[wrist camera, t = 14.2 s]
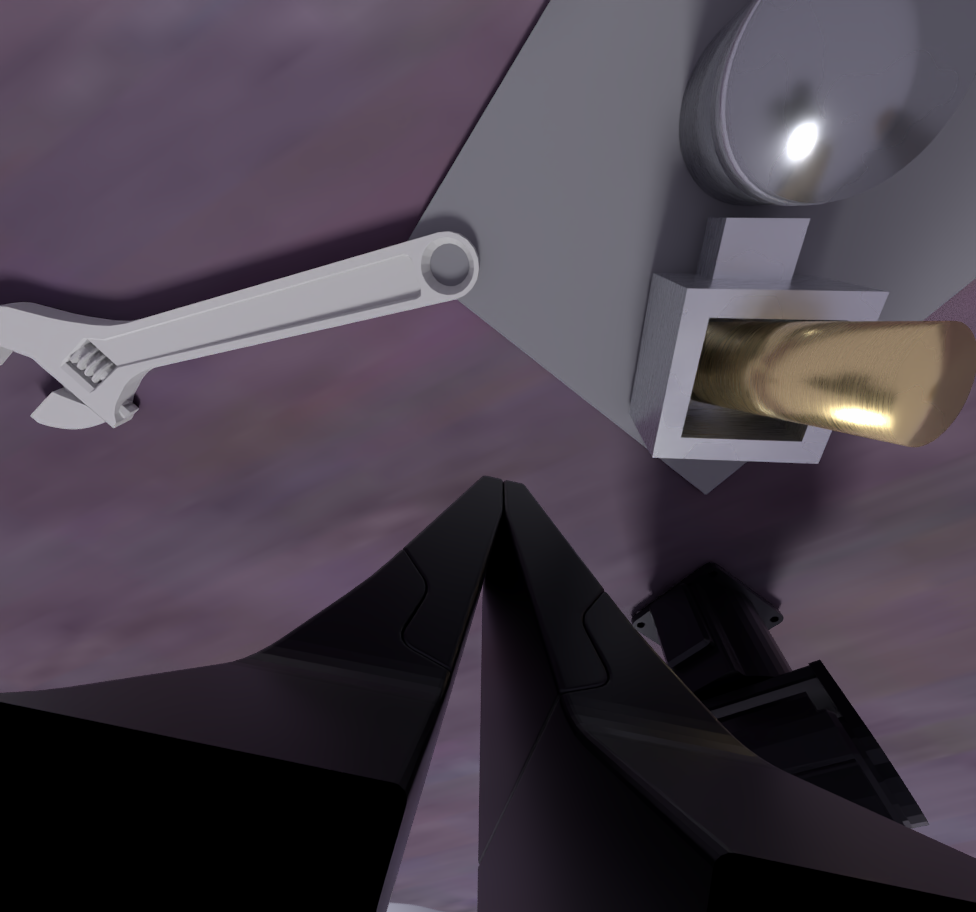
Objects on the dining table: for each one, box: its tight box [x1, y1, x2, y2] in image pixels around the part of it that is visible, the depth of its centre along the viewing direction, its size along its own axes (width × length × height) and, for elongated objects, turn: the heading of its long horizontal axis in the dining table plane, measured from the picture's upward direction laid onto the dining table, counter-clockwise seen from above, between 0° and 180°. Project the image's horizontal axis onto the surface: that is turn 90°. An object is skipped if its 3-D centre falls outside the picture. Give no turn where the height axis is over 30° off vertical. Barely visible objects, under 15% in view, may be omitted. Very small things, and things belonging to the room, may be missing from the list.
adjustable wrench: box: [0, 231, 480, 429], centre depth 21 cm, size 25×6×2 cm, turn 99°
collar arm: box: [629, 217, 889, 464], centre depth 14 cm, size 20×6×4 cm, turn 0°
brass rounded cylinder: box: [690, 321, 976, 447], centre depth 15 cm, size 3×3×8 cm
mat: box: [408, 0, 976, 495], centre depth 17 cm, size 19×18×1 cm
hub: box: [679, 0, 976, 206], centre depth 14 cm, size 6×6×5 cm
